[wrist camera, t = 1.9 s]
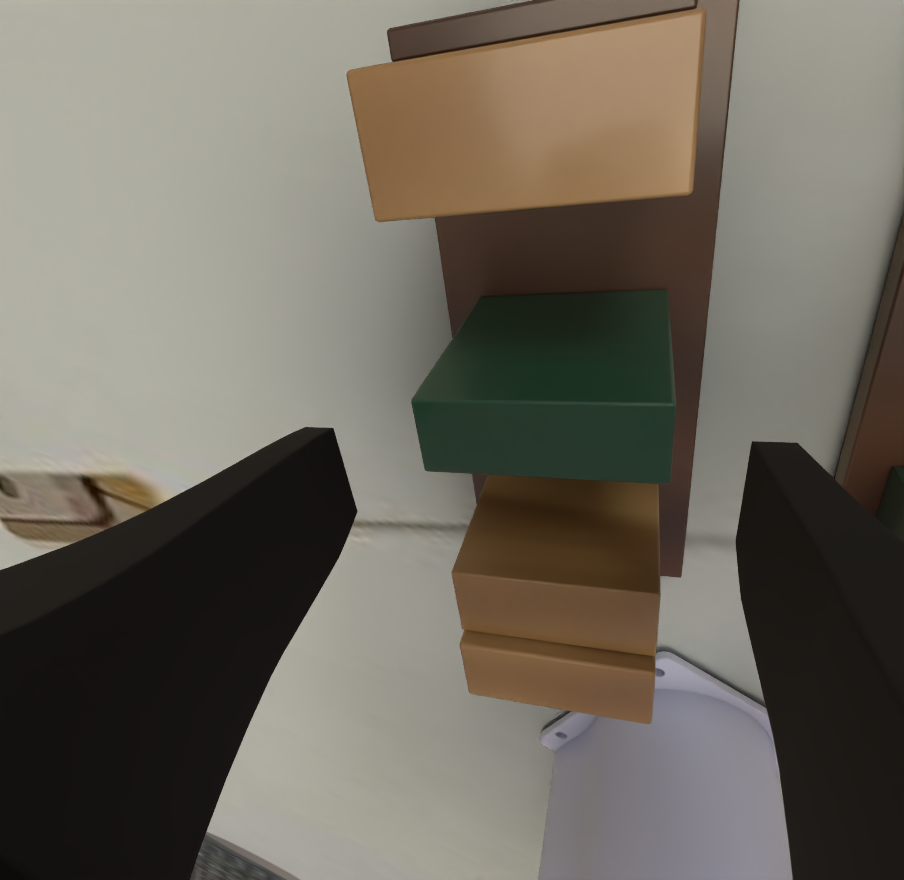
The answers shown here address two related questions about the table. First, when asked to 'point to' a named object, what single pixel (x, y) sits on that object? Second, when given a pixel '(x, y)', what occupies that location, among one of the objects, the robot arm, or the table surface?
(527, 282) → the tan rack
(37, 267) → the table surface
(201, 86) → the table surface
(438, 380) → the green book
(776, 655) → the robot arm
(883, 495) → the green rack
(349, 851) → the table surface
